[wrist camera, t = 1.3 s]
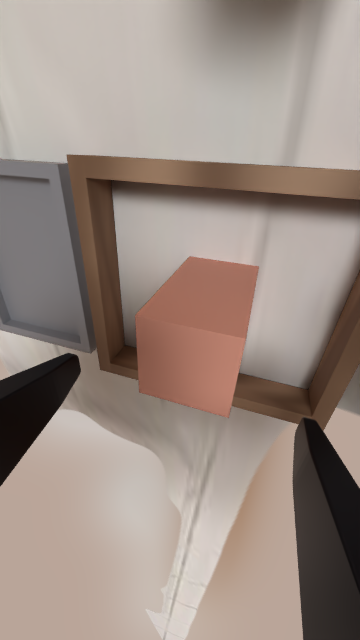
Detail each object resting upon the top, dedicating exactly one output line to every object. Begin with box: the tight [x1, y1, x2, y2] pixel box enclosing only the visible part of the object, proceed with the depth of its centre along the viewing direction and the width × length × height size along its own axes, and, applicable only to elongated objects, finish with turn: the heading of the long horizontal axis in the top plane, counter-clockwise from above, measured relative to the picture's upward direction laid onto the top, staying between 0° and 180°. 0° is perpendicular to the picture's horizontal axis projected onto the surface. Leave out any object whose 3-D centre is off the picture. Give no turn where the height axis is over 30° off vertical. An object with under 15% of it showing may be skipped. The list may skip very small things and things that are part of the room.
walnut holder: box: [67, 155, 360, 430], centre depth 17 cm, size 17×15×2 cm
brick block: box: [135, 257, 259, 418], centre depth 14 cm, size 4×4×8 cm
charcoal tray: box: [0, 159, 97, 353], centre depth 21 cm, size 10×14×2 cm
